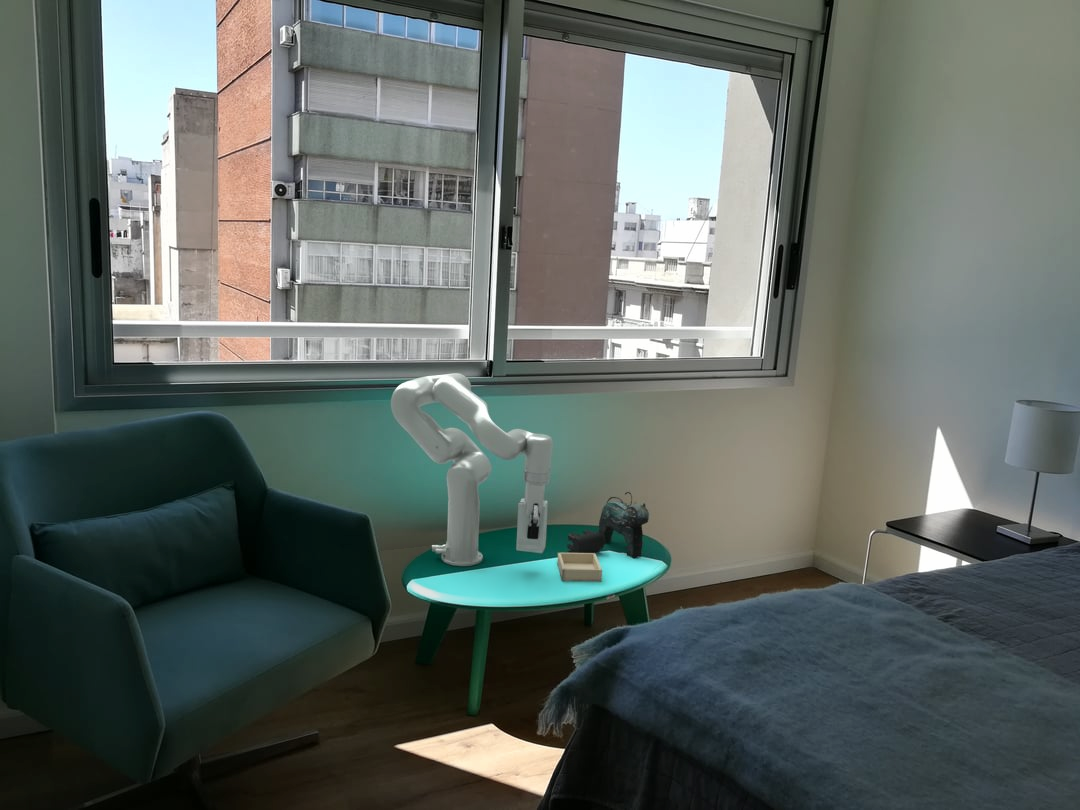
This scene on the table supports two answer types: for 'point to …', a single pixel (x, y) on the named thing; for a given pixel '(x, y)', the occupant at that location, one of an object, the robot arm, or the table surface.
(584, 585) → the table surface
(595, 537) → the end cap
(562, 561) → the holder
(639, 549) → the ceramic cat
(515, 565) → the table surface
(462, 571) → the table surface
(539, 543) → the skincare box
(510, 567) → the table surface
